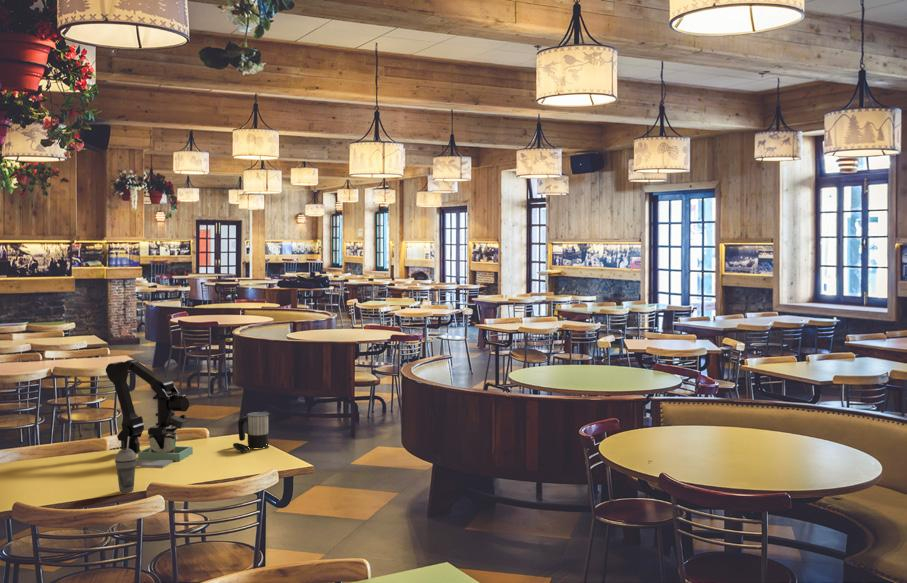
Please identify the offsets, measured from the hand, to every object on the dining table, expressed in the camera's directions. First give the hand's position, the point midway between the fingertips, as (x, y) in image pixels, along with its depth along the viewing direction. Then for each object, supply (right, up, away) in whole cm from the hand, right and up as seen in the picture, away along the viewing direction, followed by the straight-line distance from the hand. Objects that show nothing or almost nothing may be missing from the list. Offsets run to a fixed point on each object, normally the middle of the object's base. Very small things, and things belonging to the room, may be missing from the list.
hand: (165, 447), depth 338 cm
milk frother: (+33, -4, +13) cm, 35 cm away
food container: (0, -4, 0) cm, 4 cm away
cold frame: (0, -4, 0) cm, 4 cm away
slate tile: (-1, -5, -12) cm, 13 cm away
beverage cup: (+3, -7, -48) cm, 49 cm away
